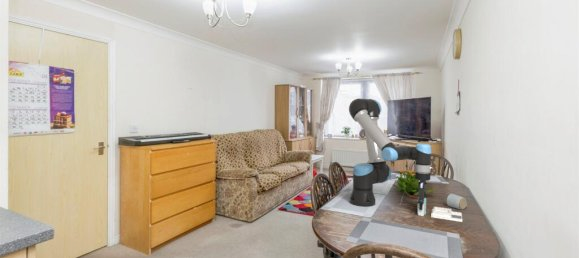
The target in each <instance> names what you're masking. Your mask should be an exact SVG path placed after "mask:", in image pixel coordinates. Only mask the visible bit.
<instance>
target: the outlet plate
mask: <svg viewBox="0 0 579 258" xmlns="http://www.w3.org/2000/svg"><path fill="white" fill-rule="evenodd" d="M462 214H463V213H462V212H460V211H458V212H457V211H453V210H452V208H446V207H440V206H433V208H432V209H431V214H430V217H431V218H435V219H441V220H447V221H448V220H449V221H454V222H459V223H460V222H461V223H463V215H462Z"/></svg>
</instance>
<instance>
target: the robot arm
mask: <svg viewBox="0 0 579 258" xmlns="http://www.w3.org/2000/svg"><path fill="white" fill-rule="evenodd" d="M348 111H349V115H350V117H351V118H352V120H353V121H354V122H356V123H358V124H359V125H360V127H361V128H362V129H363V130H364V135H365V142H366V149H367V157H368V160H367V162H364V163H358V164H357V163H356V164H355V165H354V166H353V170H352V191H351V194H350V197H349V203H350V204H352V205H355V206H359V207H372V206H375V205H376V197H375V194H374V190H373V188H374V185H376V184H383V183H385V182H388V181H389V180H390V179H391V176H392V169H391V166H389V164H387V162H396V161H405V160H411V161H415V164H414V165H415V167H414V168H415V170H414V173H415V172H416V173H415V174H414V175H415V179H417V180H419V183H418V186H419V189H418V190H419V198H417V201H416V203H417V205H418V213H417V216H421V217H424V216H425V214H424V198H426V199H427V198H428V196H427V193H426V191H427V188H426V187H428V186H427V185H428V183H427V181H430V180H431V169H432V168H433V166H432V165H431V160H432V146H431V145H430V144H429V143H417V144H416V145H415V146H408V145H398V146H396V145H395V144H394V143H393V142H392V141H391V139H390V137H388V136H387V135H386V134H385V133H384V131H383V130H382V129H381V128H380V126H379V125H378V121H379V119H380V114H381V113H382V105H381V104H380V102H379V101H378V100H376V99H372V98H355V99H353V100H352V101H351V102H350V103H349V107H348Z"/></svg>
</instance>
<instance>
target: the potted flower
mask: <svg viewBox="0 0 579 258" xmlns="http://www.w3.org/2000/svg"><path fill="white" fill-rule="evenodd" d="M398 173H399V176H398V175H397V176H395V178H396V179H397V185H396V184H392V185H393V186H394V187H395V188H396V191H398V192H400V193H404V194H405V196H406V197H408V198H413V199H414V198H415V199H416V198H417V199H418V197H419V190H418V189H419V186H418V183H419V182H420V180H417V179H415V173H416V171H415V170H411V169H410V170H407V171H406V172H405V171H404V170H400V171H398ZM427 188H428V186H426V189H427ZM434 192H436V191H435V190H433V189H427V190H426V194H429V193H434Z"/></svg>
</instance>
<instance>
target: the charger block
mask: <svg viewBox="0 0 579 258" xmlns="http://www.w3.org/2000/svg"><path fill="white" fill-rule="evenodd" d="M418 198H419V197H418ZM418 198H417V199H418ZM416 209H417V211H416V212H417V214H418V204H417V208H416ZM426 213H427V198H424V215H426Z"/></svg>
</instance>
